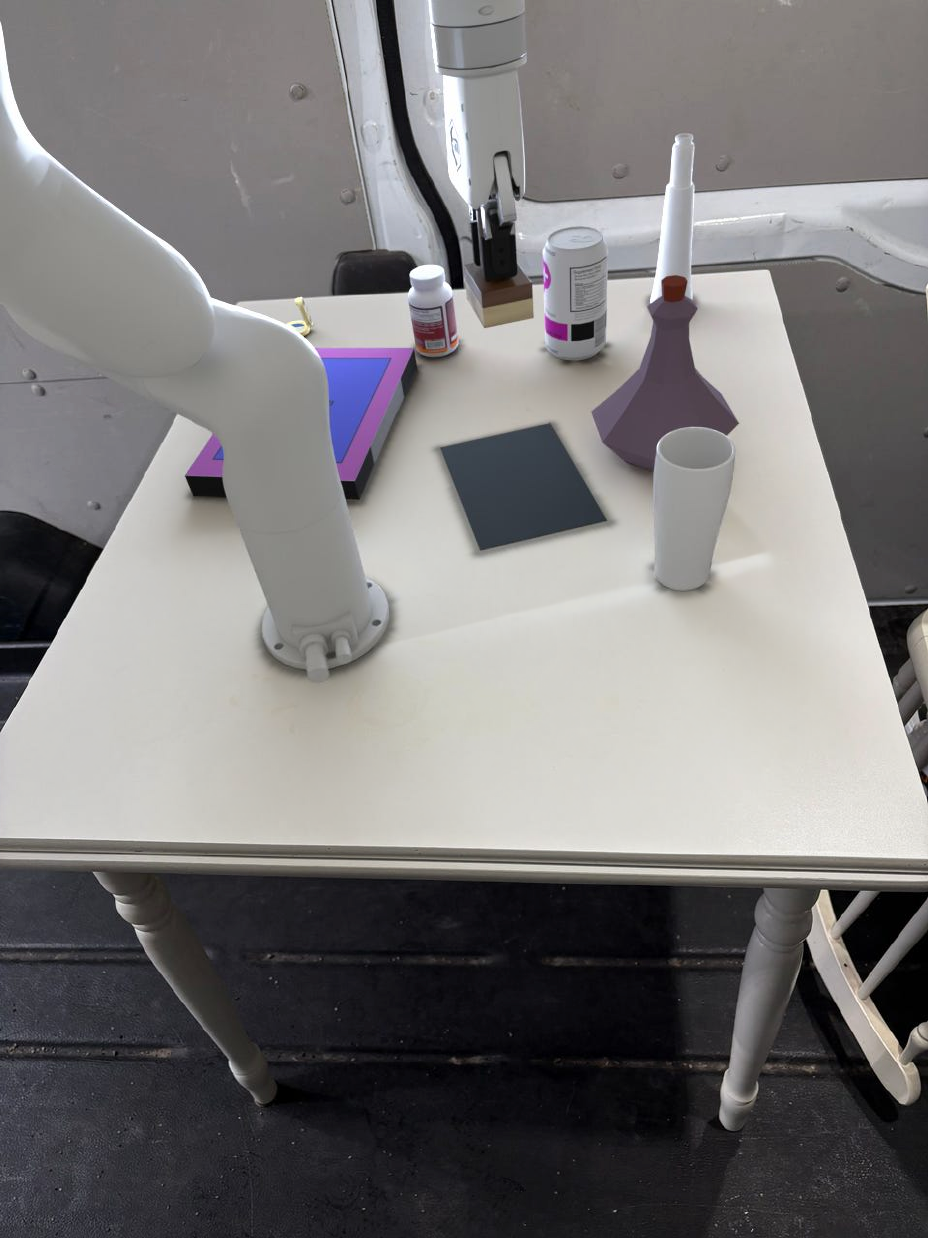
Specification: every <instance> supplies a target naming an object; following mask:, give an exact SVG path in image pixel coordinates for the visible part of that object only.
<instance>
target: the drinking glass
mask: <svg viewBox="0 0 928 1238" xmlns="http://www.w3.org/2000/svg"><path fill="white" fill-rule="evenodd" d="M736 451H737V450H736V445H735V443H734V441H733V440H732V439H731V438H730V437H729V436H728V435H727V436H726V435H725V434H723V433H721V432H719V431H716V430H713V429H709V428H704V427H686V428H680V429H677V430H674V431H671V432H669V433H667V434H666V435H664V436H663V437H662V438H661V439H660V441H659V442H658V445H657V450H656V457H655V465H654V472H653V477H652V499H653V500H652V502H653V504H652V505H653V527H654V528H653V531H654V532H653V533H654V535H653V536H654V560H653V573H654V576H655V579H657V581H658V582H659V583H660V584H662V586H664V587H666V588H668V589H670V590H674V591H679V592H687V591H692V590H696V589H698V588H700V587H702V586H703V585H704V584H705V583H706V582H707V581H708V580H709V577H710V575H711V569H712V568H711V567H712V563H713V557H714V554H715V551H716V546H717V542H718V539H719V535H720V531H721V527H722V523H723V521H724V517H725V513H726V509H727V505H728V502H729V498H730V494H731V491H732V484H733V480H734V474H735V473H734V472H735V464H736V463H735V462H736Z"/></svg>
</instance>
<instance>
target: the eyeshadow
mask: <svg viewBox="0 0 928 1238" xmlns="http://www.w3.org/2000/svg"><path fill="white" fill-rule="evenodd" d="M294 303H295V305H296V306H297V307H299V311H300V314H301V316H302V318H303V320H304V321H303V320H294V321H290V322H287V323H284V324H285V325H287V326H289V327H290V328H292V329H294V330H295V331H296V332H298V333H299V334H300V335H302V336H303V337H304V336H307V335H308V334H309V333H310V331H311V328H310V327H312V326H313V325H314V323H313V319H312V316H311V313H310V311H309V308H308V306H307V303H306V301H305V298H304V297H302V296H300V297H296V298H294Z"/></svg>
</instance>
